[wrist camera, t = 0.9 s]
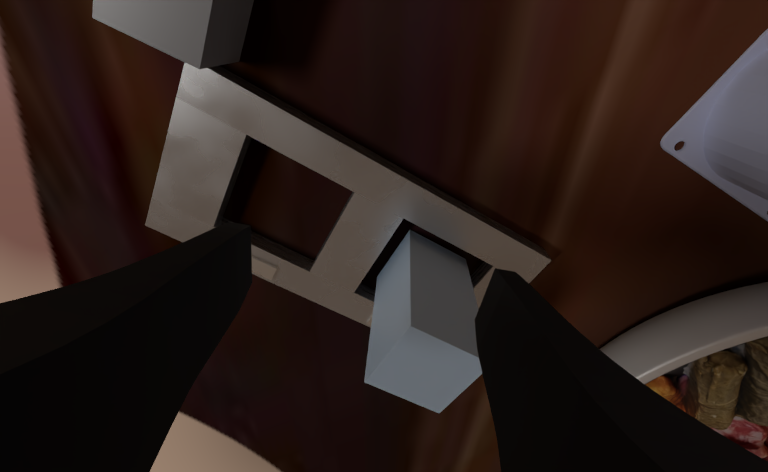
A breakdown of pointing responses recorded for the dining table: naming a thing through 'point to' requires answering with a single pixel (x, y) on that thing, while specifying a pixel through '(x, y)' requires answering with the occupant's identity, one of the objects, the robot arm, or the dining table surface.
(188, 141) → the panel
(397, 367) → the plug
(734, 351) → the bowl
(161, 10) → the plug
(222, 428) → the dining table surface
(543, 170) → the dining table surface
